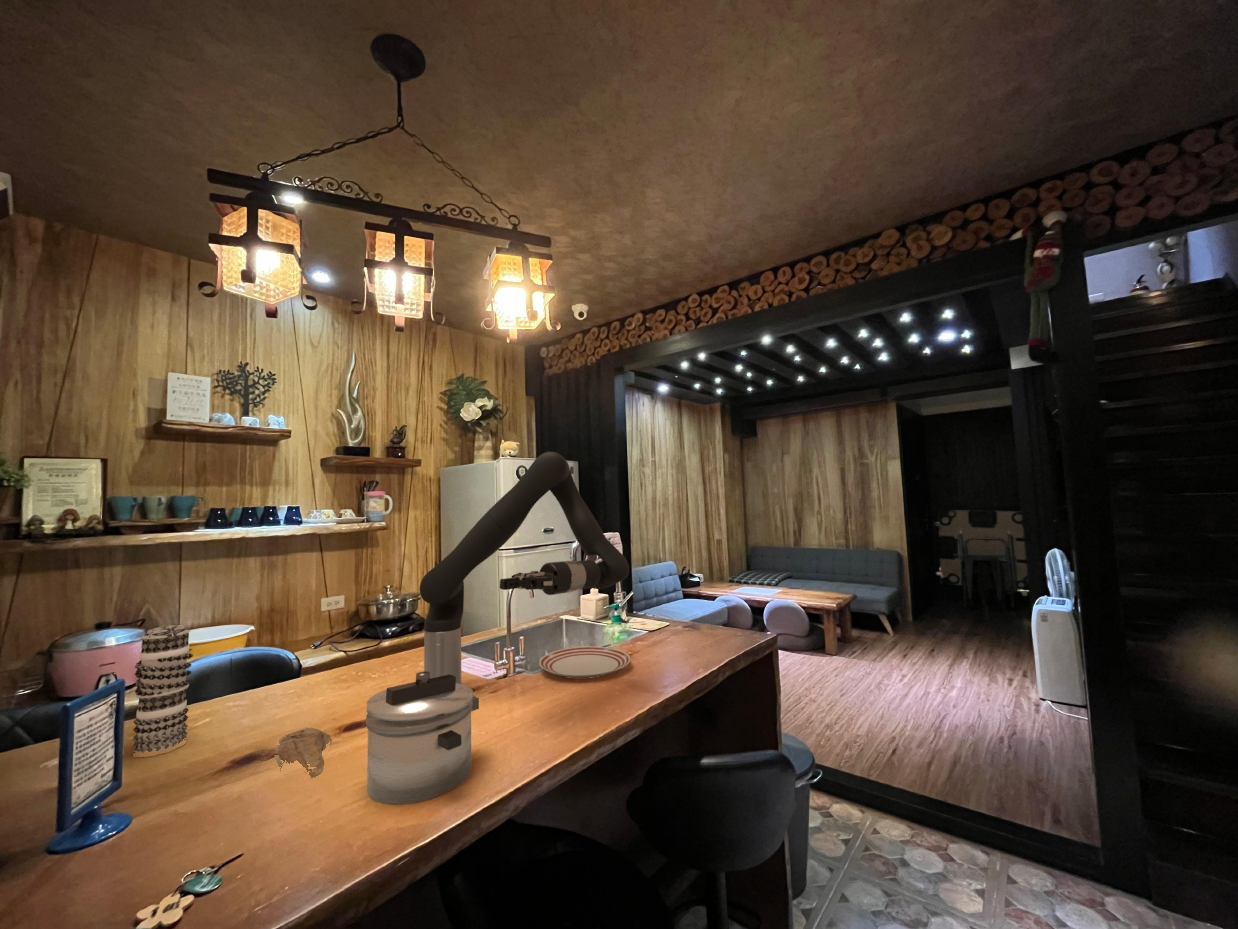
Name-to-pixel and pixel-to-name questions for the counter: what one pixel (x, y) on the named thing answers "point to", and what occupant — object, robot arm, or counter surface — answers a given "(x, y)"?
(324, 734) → the fish fossil
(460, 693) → the cooker lid
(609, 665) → the dinner plate
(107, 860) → the counter surface
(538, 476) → the robot arm
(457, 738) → the cooker pot
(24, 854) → the counter surface
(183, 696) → the decorative candle
